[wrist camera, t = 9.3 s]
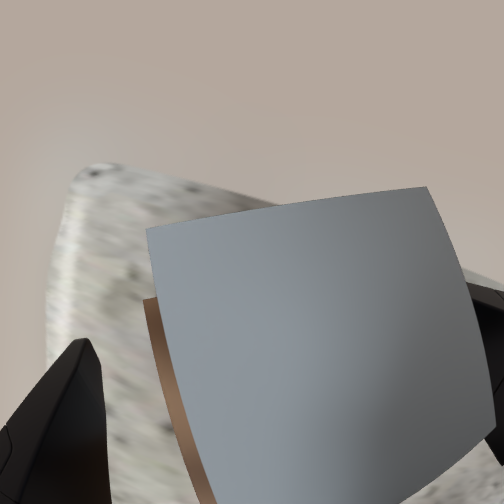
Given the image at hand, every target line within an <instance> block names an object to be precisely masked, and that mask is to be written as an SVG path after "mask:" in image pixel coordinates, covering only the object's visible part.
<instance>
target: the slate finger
mask: <svg viewBox="0 0 504 504" xmlns="http://www.w3.org/2000/svg"><path fill="white" fill-rule="evenodd" d="M146 235H147V241H148V248H149V254H150V260H151V266H152V272H153V277H154V283H155V288H156V293H157V298H158V303H159V308H160V313H161V318H162V322H163V327H164V332H165V336H166V340H167V345H168V349H169V353H170V357H171V361H172V365H173V369H174V373H175V376H176V380H177V384H178V388H179V391H180V395H181V398H182V402H183V405H184V409H185V412H186V415H187V419H188V422H189V425H190V428H191V432H192V435H193V438H194V441H195V444H196V447H197V450H198V453H199V456H200V459H201V462H202V464H203V467H204V470H205V473H206V475H207V478H208V481H209V484H210V486H211V489H212V491H213V494H214V497H215V499H216V502H217V504H399V503H401V502H402V501H404V500H406V499H407V498H409V497H410V496H412V495H413V494H415V493H416V492H418V491H419V490H421V489H422V488H424V487H425V486H426V485H428V484H429V483H431V482H432V481H433V480H435V479H436V478H437V477H439V476H440V475H441V474H443V473H444V472H445V471H447V470H448V469H449V468H450V467H452V466H453V465H454V464H455V463H456V462H458V461H459V460H460V459H461V458H462V457H464V456H465V455H466V454H467V453H468V452H469V451H471V450H472V449H473V448H474V447H475V446H476V445H477V444H478V443H479V442H480V441H482V440H483V439H484V438H485V437H486V436H487V435H488V434H489V433H490V432H491V431H492V430H493V429H494V428H495V427H496V419H495V410H494V402H493V394H492V388H491V381H490V375H489V370H488V365H487V359H486V355H485V350H484V345H483V341H482V337H481V333H480V329H479V325H478V321H477V317H476V314H475V310H474V307H473V303H472V300H471V297H470V293H469V290H468V287H467V284H466V281H465V278H464V275H463V272H462V269H461V267H460V264H459V261H458V258H457V256H456V253H455V250H454V248H453V245H452V243H451V240H450V238H449V236H448V233H447V231H446V228H445V226H444V223H443V221H442V219H441V217H440V214H439V212H438V210H437V208H436V206H435V204H434V201H433V199H432V197H431V195H430V193H429V191H428V189H427V187H418V188H408V189H399V190H390V191H381V192H374V193H365V194H357V195H349V196H342V197H334V198H328V199H320V200H312V201H306V202H299V203H292V204H285V205H279V206H272V207H266V208H260V209H253V210H247V211H241V212H235V213H229V214H223V215H218V216H212V217H206V218H201V219H195V220H190V221H184V222H179V223H174V224H168V225H163V226H158V227H153V228H148V229H146Z"/></svg>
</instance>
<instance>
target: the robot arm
mask: <svg viewBox="0 0 504 504" xmlns="http://www.w3.org/2000/svg"><path fill="white" fill-rule="evenodd" d="M466 284H467V287H468V290H469V293H470V297H471V300H472V303H473V307H474V310H475V314H476V317H477V321H478V325H479V329H480V333H481V337H482V341H483V345H484V350H485V355H486V359H487V365H488V370H489V375H490V381H491V388H492V394H493V402H494V410H495V419H496V427H495V428H494V429H493V430H492V431H491V432H490V433H489V434H488V435H487V436H486V437H485V438H484V439H485V441H486V442H487V444H488V446H489V447H490V449H491V450H492V452H493V454H494V455H495V457H496V459H497V460H498V462H499V463H500V465H501V466H503V465H504V292H503V291H499V290H493V289H491V288H487V287H483V286H479V285H476V284H472V283H468V282H466ZM0 504H112V500H111V491H110V481H109V469H108V454H107V428H106V410H105V402H104V393H103V382H102V370H101V364H100V361H99V358H98V356H97V354H96V352H95V350H94V348H93V346H92V344H91V342H90V340H89V339H88V338H81V339H75V340H74V341H72V343H71V344H70V345H69V346H68V347H67V348H66V349H65V351H64V352H63V353H62V354H61V355H60V356H59V358H58V359H57V360H56V361H55V362H54V364H53V365H52V366H51V367H50V368H49V370H48V371H47V372H46V373H45V374H44V376H43V377H42V378H41V379H40V380H39V382H38V383H37V384H36V385H35V387H34V388H33V389H32V390H31V392H30V393H29V394H28V396H27V397H26V398H25V399H24V400H23V402H22V403H21V404H20V406H19V407H18V408H17V410H16V411H15V412H14V413H13V415H12V416H11V417H10V419H9V420H8V421H7V423H6V425H4V427H3V428H2V429H1V431H0Z"/></svg>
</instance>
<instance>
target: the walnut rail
mask: <svg viewBox="0 0 504 504" xmlns="http://www.w3.org/2000/svg"><path fill="white" fill-rule="evenodd" d="M143 305H144V310H145V315H146V320H147V325H148V330H149V335H150V340H151V344H152V349H153V353H154V358H155V362H156V366H157V370H158V374H159V378H160V382H161V386H162V390H163V394H164V397H165V401H166V405H167V408H168V412H169V415H170V418H171V422H172V425H173V428H174V432H175V435H176V438H177V441H178V444H179V447H180V450H181V453H182V456H183V459H184V462H185V465H186V468H187V471H188V473H189V476H190V479H191V481H192V484H193V487H194V489H195V492H196V495H197V497H198V500H199V502H200V504H217V502H216V499H215V497H214V494H213V491H212V489H211V486H210V484H209V481H208V478H207V475H206V473H205V470H204V467H203V464H202V462H201V459H200V456H199V453H198V450H197V447H196V444H195V441H194V438H193V435H192V432H191V428H190V425H189V422H188V419H187V415H186V412H185V409H184V405H183V402H182V398H181V395H180V391H179V388H178V384H177V380H176V376H175V373H174V369H173V365H172V361H171V357H170V353H169V349H168V345H167V340H166V336H165V332H164V327H163V322H162V318H161V313H160V308H159V303H158V298H157V297H155V298H150V299H145V300H143Z"/></svg>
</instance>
